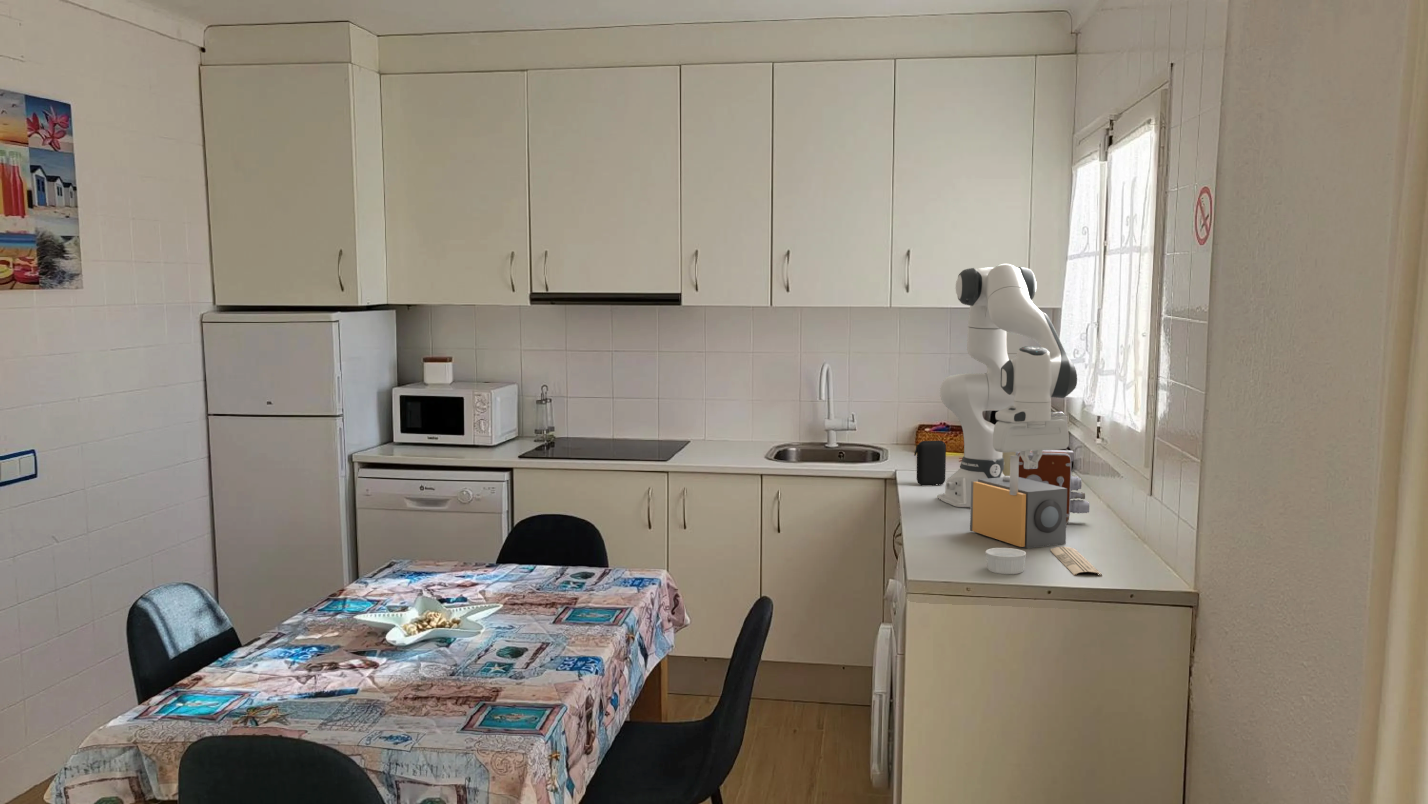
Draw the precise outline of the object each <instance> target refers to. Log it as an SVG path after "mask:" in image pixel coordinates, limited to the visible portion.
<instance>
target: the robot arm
mask: <svg viewBox="0 0 1428 804" xmlns="http://www.w3.org/2000/svg"><path fill="white" fill-rule="evenodd" d="M957 275H958V276H957V278H956V279H957V280H956V282H955V294H956V296H957V299H958V301H959V302H960V303H961V304H962V305H966V306H969V311H968V319H967V340H966V341H967V343H966V350H967V353H968V355H969V356H970V357H971V358H973V359H974V360H976V361H978V363H981V364H984V365H985V366H986V369H987V370H986V371H987V372H984V373H959V374H953V375H952V374H951V375H948V376H946V377H945V378H944V380H943V381H942V382H941V385H940V387H939V396H940V400H941V401H942V404H943V405H944V407H946V408H947V409H948V410H949V411H951V412H952V413H953V414H954V415H955V416H956V418H957V420H958V422H959V423H960V425H961V428H962V432H963V447H964V448H963V450H964V452H963V456H962V457H959V458H958V459H959V460H958V462H959V463H960V464H959V469H958V470H956V471H955V472H954V473H953V474H952V475H951V476H950V477H948V478H946V480H945V487H944V488H945V489H944V493H938V495H936V499H938V498H939V499H938V500H940V499H941V501H942V502H944V503H947V504H948V505H951V506H953V507H957V508H971V481H977V482H978V479H987V478H1000V477H1003V476H1005V475H1004V474H1003V472H1002V470H1004V458H1003V457H1002V455H1003V452H1020V456H1021V458H1022V460H1023V461H1024V469H1037V468H1038V461H1039V460H1040V458H1041V456H1042V450H1067V448H1068V447H1069V446H1070V434H1069V427H1068V416H1067V415H1066V414H1065V413H1064V412H1063V411H1057V412H1056V411H1052V398H1054V399H1055V398H1056V399H1057V398H1058V399H1065V398H1066V397H1067V396H1069V395H1070V394H1071V393H1072V392H1074V390H1075V389H1076V388H1077V384H1078V374H1077V370H1076V369H1077V368H1076V367H1075V365H1074V363H1073V362H1072V360H1071V359H1070V358H1069V355H1067V353H1066V351H1065V348H1064V346H1063V344H1062V342H1061V340H1060V338H1059V335H1058V333H1057V331H1056V329H1055V327H1054V324H1053V323H1052V321H1051V318H1050V316H1048V314H1047V313H1045V312H1044V311H1042V310H1041V309H1039V308H1038V306H1036V304H1034V302H1033V300H1034V298H1035V295H1036V292H1037V281H1036V276H1035V274H1034V272H1033V271H1032V269H1031V268H1027V267H1023V266H1019V267H1016V265H1013V264H1010V263H1002V264H998V265H995V266H989V267H978V268H975V267H970V268H966V269H963V270H962V271H961V272H959V273H958V274H957ZM1008 333H1011V334H1015V335H1019V336H1023V337H1026V338H1029V339H1031V340H1033V341H1035V342H1036V343H1037V344H1039V346H1035V345H1032V346H1031V345H1028V346H1022V347H1019V348H1018V349H1017V351H1016V356H1015V357H1014V358H1012V359H1009V358H1010V357H1009V355H1008V341H1007V340H1008V339H1007V335H1008ZM985 411H988V412H989V411H995V420H996V423H995V424H994V423H992V422H990V421H988V420H986V419H985V418H984V416H983V412H985ZM1030 451H1032V453H1033V454H1034V456H1033V458H1032V460H1031V461H1030V460H1029V458H1028V455H1030Z"/></svg>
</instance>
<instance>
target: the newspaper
mask: <svg viewBox="0 0 1428 804" xmlns="http://www.w3.org/2000/svg"><path fill="white" fill-rule="evenodd" d="M1050 552H1051V553H1052V554H1053V555H1054V556H1055V557H1056V558H1057V559H1058V560H1059V561H1060V562H1061V563H1062V564H1063V566H1064V567H1066V569H1067V568H1068V569H1069V570H1070V571H1071V572H1072V573H1071V572H1070V571H1069V570H1068V569H1067V570H1068V571H1069V572H1070V573H1071V574H1073V576H1077V575H1078V574H1081V573H1092V574H1093V573H1094V574H1096V573H1097V574H1099V573H1100V574H1101V575H1102V576H1103V574H1102V572H1101V571H1099V570H1098V569H1097V568H1096V567H1095V566H1094V565H1093V564H1092V563H1091V562H1089V561H1088V559H1087V558H1085V557H1084V556H1083V555H1082V554H1081V553H1080V552H1079V551H1078V550H1077V549H1076V548H1073V547H1071V546H1070V547H1069V546H1056V547H1053V548H1050ZM1097 574H1096V575H1097ZM1100 574H1099V575H1100ZM1101 575H1100V576H1099V577H1102V576H1101Z"/></svg>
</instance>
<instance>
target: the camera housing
mask: <svg viewBox="0 0 1428 804" xmlns="http://www.w3.org/2000/svg"><path fill="white" fill-rule="evenodd" d="M978 482H981V483H984V484H988V485H992V486H996V487H1000V488H1004V489H1008V490H1010V476H1003V477H1000V478H987V479H978ZM1018 492H1019V493H1023V494H1026V515H1025V547H1023V548H1024V549H1031V548H1033V547H1034V548H1043V547H1049V546H1050V547H1051V546H1058V545H1066V543H1067V542H1066V539H1067V538H1066V537H1067V524H1066V514H1067V488H1063V487H1059V486H1055V485H1050V484H1046V483H1042V482H1038V481H1034V480H1029V479H1025V478H1021V477H1018ZM1042 546H1043V547H1042Z"/></svg>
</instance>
